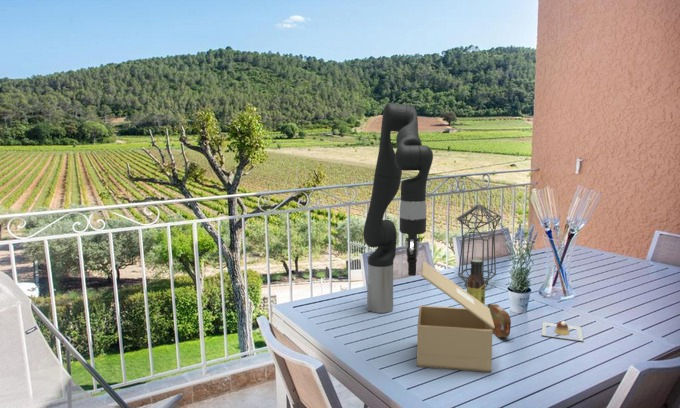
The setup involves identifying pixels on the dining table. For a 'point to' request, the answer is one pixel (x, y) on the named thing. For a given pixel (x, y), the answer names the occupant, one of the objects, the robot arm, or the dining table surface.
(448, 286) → the lid flap
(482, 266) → the geometric lantern
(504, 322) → the steak
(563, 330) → the dessert
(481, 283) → the sauce bottle
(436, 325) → the carton
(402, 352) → the dining table surface
